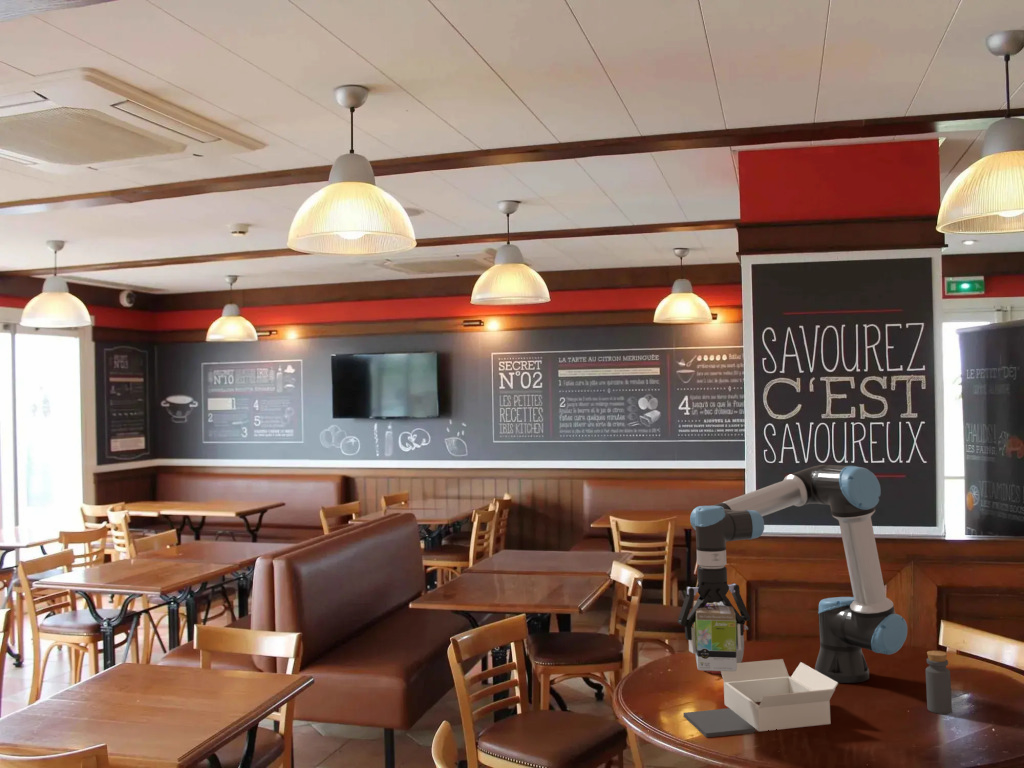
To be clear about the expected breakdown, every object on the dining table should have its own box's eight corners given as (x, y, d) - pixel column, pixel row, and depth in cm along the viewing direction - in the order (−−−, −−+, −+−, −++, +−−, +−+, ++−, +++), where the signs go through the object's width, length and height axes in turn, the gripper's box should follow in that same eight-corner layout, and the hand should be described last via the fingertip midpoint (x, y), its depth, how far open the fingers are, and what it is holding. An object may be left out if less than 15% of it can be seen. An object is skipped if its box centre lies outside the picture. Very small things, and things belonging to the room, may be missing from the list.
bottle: (950, 707, 225) (947, 650, 226) (953, 715, 220) (950, 656, 220) (925, 705, 227) (923, 649, 228) (929, 713, 222) (926, 655, 222)
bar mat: (729, 711, 227) (729, 708, 227) (755, 732, 213) (754, 728, 213) (683, 716, 225) (683, 712, 225) (706, 737, 210) (706, 733, 210)
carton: (795, 692, 241) (793, 657, 241) (849, 727, 214) (847, 687, 214) (719, 700, 237) (718, 664, 237) (765, 736, 210) (763, 695, 210)
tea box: (738, 672, 211) (736, 612, 212) (697, 671, 213) (695, 612, 213) (732, 655, 226) (730, 599, 226) (694, 654, 228) (692, 599, 228)
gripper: (673, 571, 214) (676, 658, 214) (761, 565, 219) (764, 650, 218) (662, 566, 222) (665, 650, 221) (748, 560, 226) (751, 642, 225)
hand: (715, 650), depth 219 cm, fingers closed on tea box, 12 cm apart
